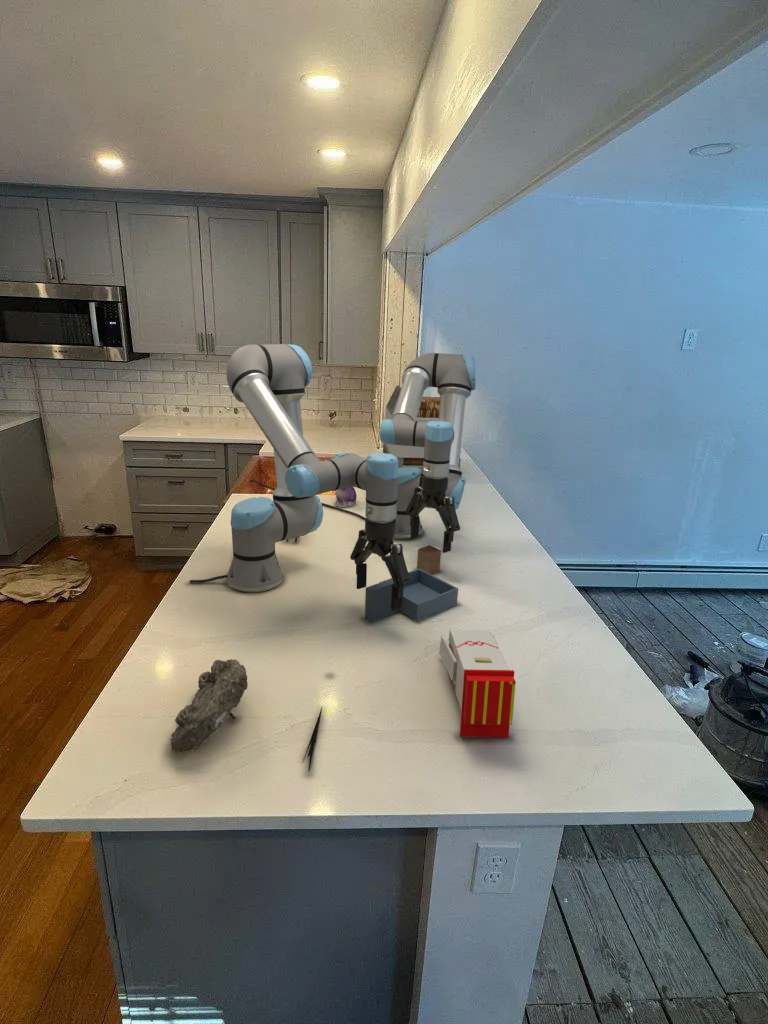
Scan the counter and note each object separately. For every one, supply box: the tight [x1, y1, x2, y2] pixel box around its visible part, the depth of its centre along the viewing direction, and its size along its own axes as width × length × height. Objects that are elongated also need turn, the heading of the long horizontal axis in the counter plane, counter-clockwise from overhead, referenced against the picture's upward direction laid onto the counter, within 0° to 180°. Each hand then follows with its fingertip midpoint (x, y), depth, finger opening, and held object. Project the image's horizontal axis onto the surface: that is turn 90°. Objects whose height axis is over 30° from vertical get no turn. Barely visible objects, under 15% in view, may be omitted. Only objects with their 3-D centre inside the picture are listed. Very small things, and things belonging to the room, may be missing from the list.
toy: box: [438, 628, 517, 738], centre depth 117 cm, size 12×13×30 cm
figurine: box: [335, 487, 357, 508], centre depth 225 cm, size 9×10×15 cm
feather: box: [301, 673, 332, 771], centre depth 108 cm, size 2×28×2 cm
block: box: [416, 544, 442, 575], centre depth 172 cm, size 5×5×7 cm
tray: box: [364, 568, 459, 624], centre depth 150 cm, size 15×25×9 cm, turn 131°
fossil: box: [170, 658, 249, 753], centre depth 106 cm, size 22×10×15 cm
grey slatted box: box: [382, 384, 465, 470], centre depth 268 cm, size 34×33×41 cm
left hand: (378, 597), depth 143 cm, fingers open, 13 cm apart
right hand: (429, 544), depth 170 cm, fingers open, 13 cm apart
